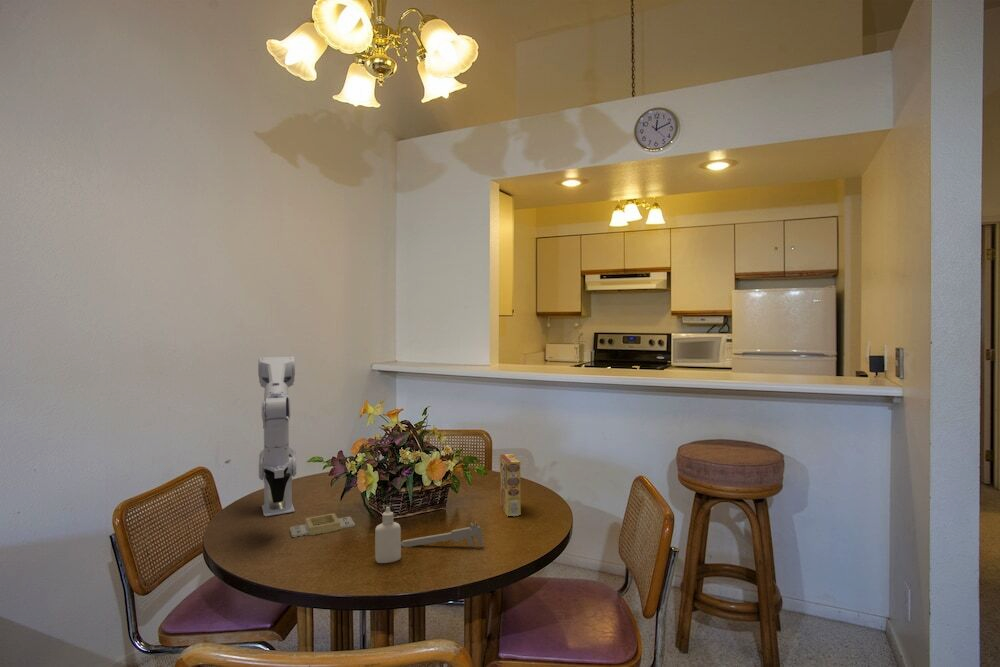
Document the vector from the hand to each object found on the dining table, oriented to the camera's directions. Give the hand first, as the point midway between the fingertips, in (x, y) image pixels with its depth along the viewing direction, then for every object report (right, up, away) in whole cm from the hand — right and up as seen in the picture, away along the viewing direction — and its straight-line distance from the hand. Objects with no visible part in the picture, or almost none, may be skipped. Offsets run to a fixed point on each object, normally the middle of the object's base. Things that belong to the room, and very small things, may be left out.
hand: (277, 499), depth 131 cm
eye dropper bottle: (+31, -10, -13) cm, 35 cm away
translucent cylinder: (0, -2, 0) cm, 2 cm away
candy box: (+59, -9, +17) cm, 62 cm away
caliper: (+42, -10, -6) cm, 43 cm away
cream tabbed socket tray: (+10, -9, +5) cm, 14 cm away
